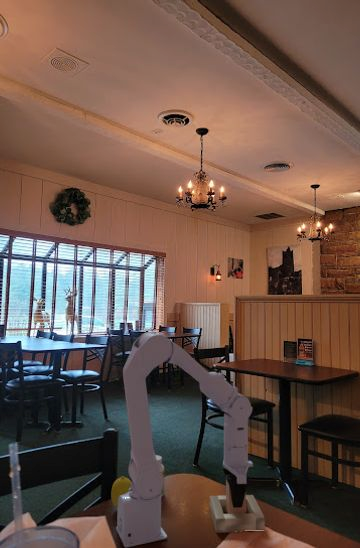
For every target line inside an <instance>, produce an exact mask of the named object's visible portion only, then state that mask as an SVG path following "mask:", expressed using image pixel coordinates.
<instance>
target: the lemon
mask: <svg viewBox="0 0 360 548" xmlns="http://www.w3.org/2000/svg"><path fill="white" fill-rule="evenodd" d="M132 482H133V481H132V480H130V479H129V478H128V477H125V476H123V475H122V476H120V477H119V478H117V479H116V480H115V481H114V482H113V484H112V486H111V487H112V488H111V493H110V497H111V501H112V504H113V506H114V507H115V508H117V509H118V498H119V496H121V495H124V494H126V493H128V492H129V488H130V486H131V483H132Z"/></svg>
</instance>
